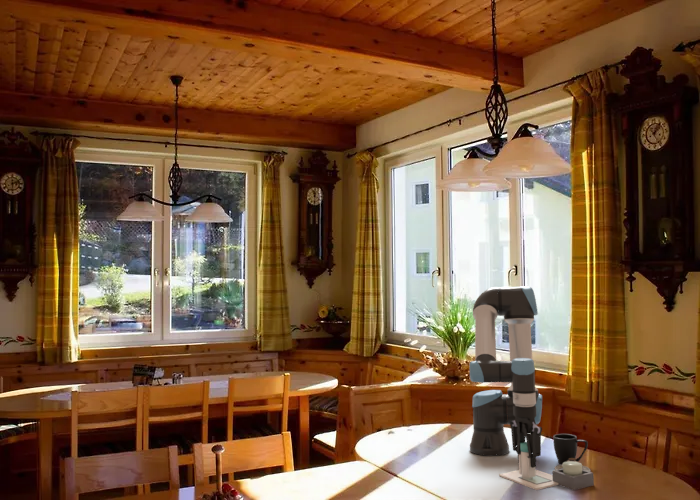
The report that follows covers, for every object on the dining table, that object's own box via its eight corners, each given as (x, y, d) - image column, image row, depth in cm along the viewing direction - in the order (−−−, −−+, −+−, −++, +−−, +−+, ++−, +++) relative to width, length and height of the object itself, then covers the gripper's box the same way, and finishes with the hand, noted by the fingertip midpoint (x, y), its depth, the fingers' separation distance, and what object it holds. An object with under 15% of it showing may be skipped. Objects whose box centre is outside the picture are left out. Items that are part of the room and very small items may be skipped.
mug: (584, 468, 228) (583, 441, 228) (551, 464, 235) (549, 437, 236) (591, 463, 235) (590, 436, 235) (559, 458, 242) (557, 432, 242)
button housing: (552, 482, 214) (552, 470, 214) (572, 478, 218) (572, 466, 218) (573, 490, 206) (573, 477, 206) (593, 485, 210) (593, 472, 210)
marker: (519, 477, 219) (517, 442, 219) (527, 475, 220) (526, 441, 221) (527, 480, 215) (525, 445, 216) (535, 478, 217) (534, 443, 218)
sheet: (499, 475, 223) (499, 473, 223) (530, 469, 230) (530, 467, 230) (536, 490, 207) (536, 487, 207) (568, 482, 214) (568, 480, 214)
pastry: (586, 479, 218) (585, 465, 218) (550, 474, 224) (549, 461, 225) (593, 469, 228) (593, 456, 228) (559, 465, 235) (558, 452, 235)
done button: (559, 475, 213) (558, 463, 214) (572, 472, 216) (571, 460, 216) (573, 480, 208) (572, 467, 208) (586, 477, 211) (585, 464, 211)
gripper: (499, 402, 225) (502, 470, 223) (533, 410, 210) (536, 483, 209) (516, 399, 228) (519, 467, 227) (550, 407, 213) (553, 479, 212)
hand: (527, 474), depth 218 cm, fingers closed on marker, 3 cm apart
